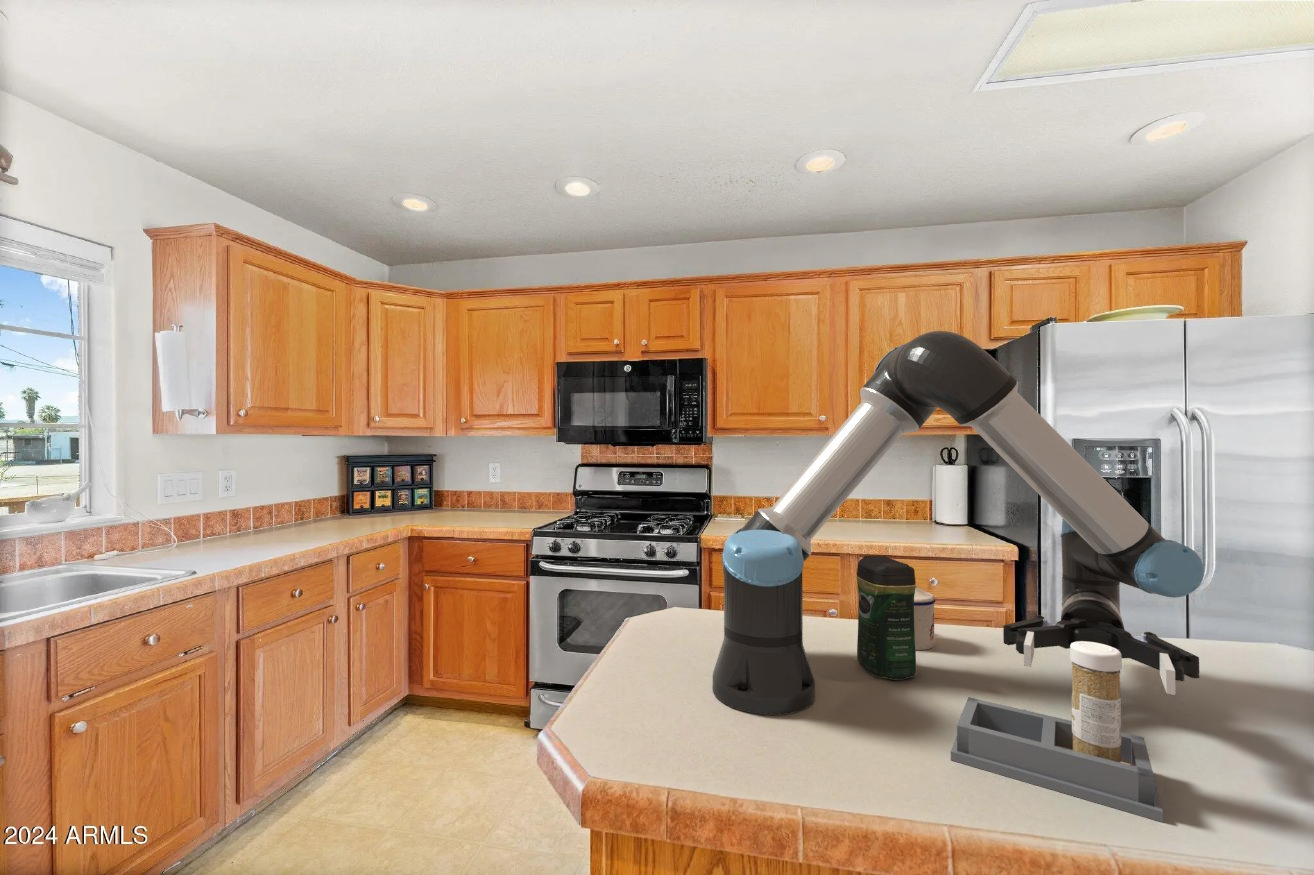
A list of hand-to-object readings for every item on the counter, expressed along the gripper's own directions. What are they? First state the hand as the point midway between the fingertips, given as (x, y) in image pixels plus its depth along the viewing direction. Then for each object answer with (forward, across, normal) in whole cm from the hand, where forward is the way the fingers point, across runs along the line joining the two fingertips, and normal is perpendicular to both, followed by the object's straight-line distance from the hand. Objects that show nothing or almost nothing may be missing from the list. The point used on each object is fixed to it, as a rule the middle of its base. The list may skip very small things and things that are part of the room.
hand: (1094, 668), depth 68 cm
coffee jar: (-12, +27, -11) cm, 32 cm away
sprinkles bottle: (+6, 0, -9) cm, 11 cm away
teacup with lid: (-30, +28, -11) cm, 42 cm away
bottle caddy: (+6, +4, -10) cm, 13 cm away
